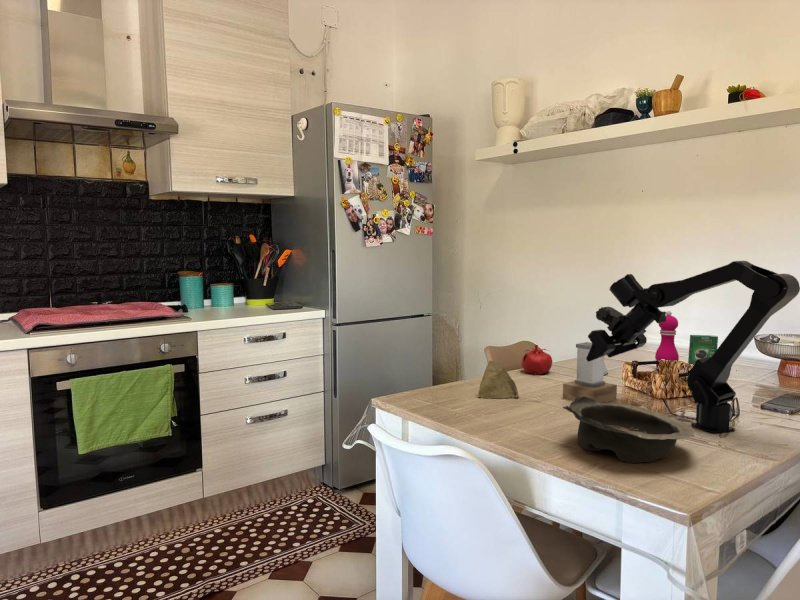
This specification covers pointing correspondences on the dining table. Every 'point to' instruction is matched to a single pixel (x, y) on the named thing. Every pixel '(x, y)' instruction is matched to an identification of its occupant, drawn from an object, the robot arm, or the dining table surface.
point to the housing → (589, 367)
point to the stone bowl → (627, 430)
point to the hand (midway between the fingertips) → (598, 358)
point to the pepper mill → (667, 339)
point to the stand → (590, 392)
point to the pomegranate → (536, 361)
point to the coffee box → (702, 347)
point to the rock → (497, 383)
